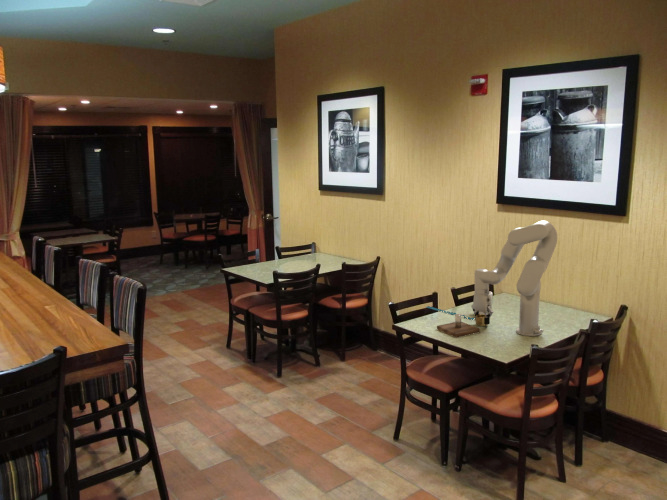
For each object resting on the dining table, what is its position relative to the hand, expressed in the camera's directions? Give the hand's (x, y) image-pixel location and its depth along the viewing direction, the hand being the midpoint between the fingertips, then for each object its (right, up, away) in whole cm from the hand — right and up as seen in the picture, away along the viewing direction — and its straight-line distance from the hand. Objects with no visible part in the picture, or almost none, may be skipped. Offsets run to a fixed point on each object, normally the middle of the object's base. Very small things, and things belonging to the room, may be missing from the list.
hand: (482, 322), depth 297 cm
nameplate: (-13, +2, +26) cm, 29 cm away
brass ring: (0, -1, 0) cm, 1 cm away
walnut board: (-15, -4, -6) cm, 17 cm away
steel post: (-15, -2, -7) cm, 16 cm away
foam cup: (+7, +2, +22) cm, 24 cm away
